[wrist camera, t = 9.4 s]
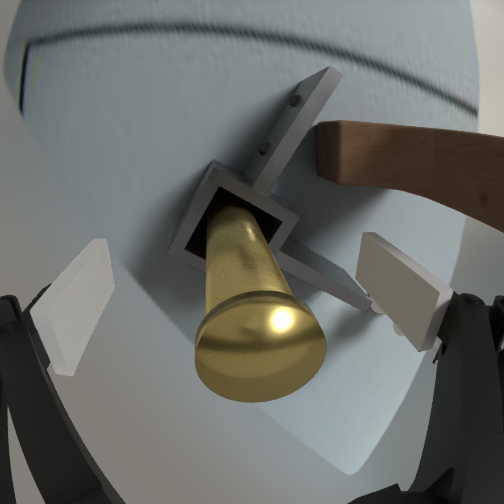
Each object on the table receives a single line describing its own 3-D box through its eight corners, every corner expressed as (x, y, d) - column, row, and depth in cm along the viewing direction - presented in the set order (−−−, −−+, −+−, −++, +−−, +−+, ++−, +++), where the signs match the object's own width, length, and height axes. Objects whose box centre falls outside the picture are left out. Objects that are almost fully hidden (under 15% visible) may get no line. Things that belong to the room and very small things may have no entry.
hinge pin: (203, 187, 23) (188, 309, 7) (252, 186, 23) (336, 300, 8) (204, 234, 24) (201, 405, 9) (251, 233, 24) (315, 395, 9)
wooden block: (315, 176, 23) (494, 273, 7) (315, 121, 22) (515, 126, 5) (404, 177, 24) (574, 250, 8) (406, 129, 23) (587, 164, 6)
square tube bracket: (274, 63, 19) (295, 42, 14) (409, 167, 24) (451, 179, 18) (176, 225, 23) (166, 254, 18) (322, 298, 28) (346, 336, 22)
